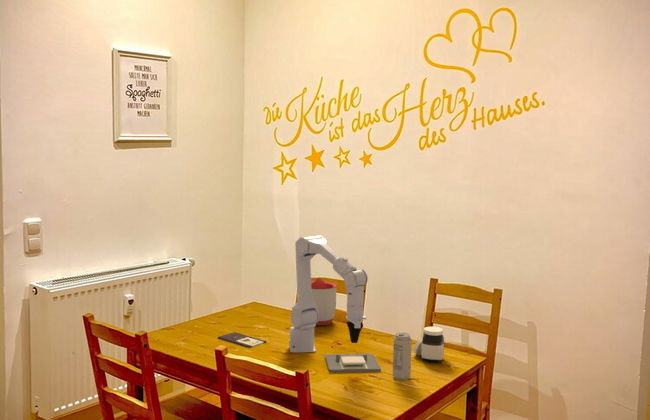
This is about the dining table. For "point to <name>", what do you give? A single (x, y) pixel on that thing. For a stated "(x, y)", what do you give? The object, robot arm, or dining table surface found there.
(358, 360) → the tile
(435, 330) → the spread jar
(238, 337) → the chocolate bar
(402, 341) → the energy drink can
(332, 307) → the citrus juicer
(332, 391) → the dining table surface
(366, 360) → the grey flat piece
